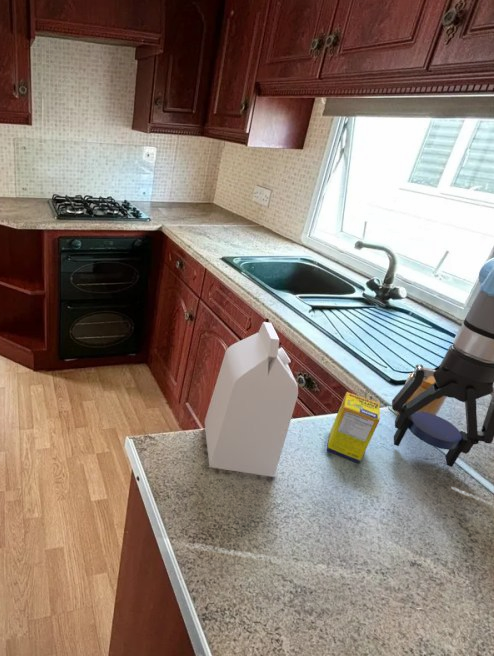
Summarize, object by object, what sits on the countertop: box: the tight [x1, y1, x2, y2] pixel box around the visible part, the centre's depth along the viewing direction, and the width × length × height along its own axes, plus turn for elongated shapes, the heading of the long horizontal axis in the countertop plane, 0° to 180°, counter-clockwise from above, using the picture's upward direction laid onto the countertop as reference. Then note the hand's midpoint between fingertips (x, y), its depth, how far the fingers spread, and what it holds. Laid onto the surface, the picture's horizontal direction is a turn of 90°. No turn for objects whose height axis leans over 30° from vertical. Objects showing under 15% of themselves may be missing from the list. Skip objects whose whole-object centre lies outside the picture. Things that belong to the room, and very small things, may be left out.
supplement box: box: [326, 391, 381, 464], centre depth 78 cm, size 6×6×11 cm
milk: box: [204, 321, 299, 478], centre depth 72 cm, size 12×12×26 cm
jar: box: [394, 369, 448, 416], centre depth 90 cm, size 8×8×10 cm
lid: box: [408, 412, 462, 451], centre depth 76 cm, size 8×8×2 cm
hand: (421, 451), depth 79 cm, fingers closed on lid, 8 cm apart
